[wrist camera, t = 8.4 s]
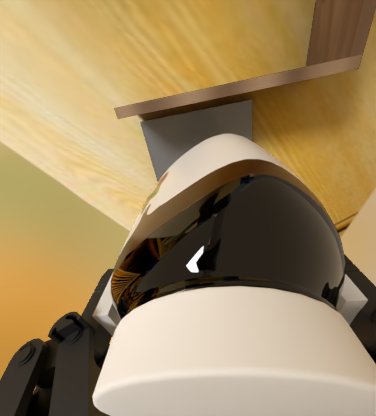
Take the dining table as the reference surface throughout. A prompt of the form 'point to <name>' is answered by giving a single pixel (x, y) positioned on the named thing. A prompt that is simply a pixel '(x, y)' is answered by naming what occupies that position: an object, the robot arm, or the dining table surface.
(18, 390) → the robot arm
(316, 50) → the wooden tray frame
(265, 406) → the spread jar
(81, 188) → the dining table surface
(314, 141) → the dining table surface
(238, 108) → the slate board
